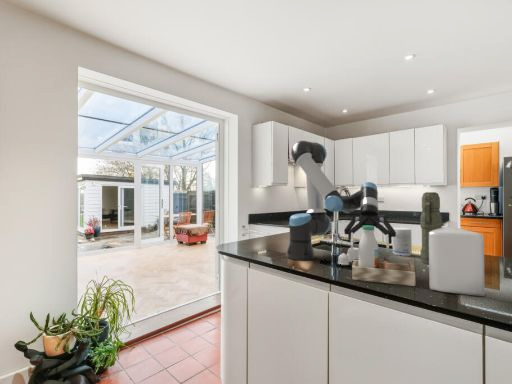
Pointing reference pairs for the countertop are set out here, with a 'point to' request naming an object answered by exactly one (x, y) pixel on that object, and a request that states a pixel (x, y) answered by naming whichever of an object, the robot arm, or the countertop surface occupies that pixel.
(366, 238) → the milk bottle
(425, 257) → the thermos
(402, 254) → the supplement tub
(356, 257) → the container set
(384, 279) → the wooden box
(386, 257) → the pusher
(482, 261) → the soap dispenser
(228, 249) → the countertop surface
